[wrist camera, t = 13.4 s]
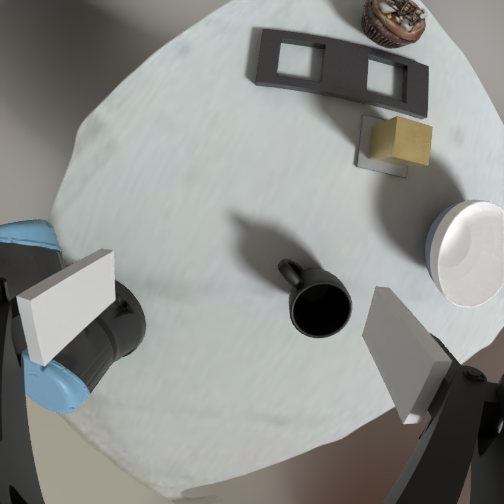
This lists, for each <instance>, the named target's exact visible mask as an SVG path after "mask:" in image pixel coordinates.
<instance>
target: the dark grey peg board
mask: <svg viewBox="0 0 504 504" xmlns="http://www.w3.org/2000/svg"><path fill="white" fill-rule="evenodd" d="M281 43H286V44H294V45H301V46H307V47H313V48H319V49H324V53H323V64H322V75H321V83H320V82H314V81H308V80H302V79H295V78H288V77H280V76H277V70H278V62H279V54H280V46H281ZM368 59H370V60H373V61H377V62H381V63H384V64H388V65H391V66H394V67H398V68H401V69H403V86H402V102H400V101H397V100H394V99H390V98H386V97H383V96H379V95H375V94H371V93H367V92H366V90H367V75H368ZM428 84H429V66H426V65H424V64H421V63H418V62H415V61H412V60H410V59H407V58H404V57H400V56H397V55H394V54H391V53H387V52H384V51H381V50H377V49H373V48H370V47H366V46H362V45H358V44H354V43H349V42H345V41H340V40H335V39H330V38H325V37H320V36H314V35H308V34H301V33H294V32H287V31H278V30H269V29H263V33H262V40H261V47H260V54H259V62H258V69H257V76H256V85H257V86H266V87H275V88H283V89H290V90H297V91H304V92H310V93H316V94H321V95H327V96H332V97H337V98H342V99H347V100H352V101H356V102H360V103H365V104H369V105H373V106H377V107H381V108H385V109H388V110H392V111H396V112H399V113H403V114H406V115H409V116H413V117H416V118H419V119H424V118H427V112H428Z"/></svg>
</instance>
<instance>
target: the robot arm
mask: <svg viewBox="0 0 504 504" xmlns="http://www.w3.org/2000/svg"><path fill="white" fill-rule="evenodd" d="M61 252H62V249H61V248H60V247H59V244H58V241H57V238H56V234H55V231H54V228H53V226H52V225H51V224H50V223H49V222H48V221H46V220H28V221H20V222H14V223H8V224H3V225H0V504H45V502H44V500H43V497H42V493H41V489H40V485H39V481H38V477H37V472H36V467H35V463H34V457H33V452H32V446H31V440H30V433H29V426H28V419H27V418H28V417H27V408H26V397H25V394H26V395H27V396H29V397H30V398H31V399H32V400H33V401H35V402H36V403H37V404H39V405H40V406H42V407H44V408H46V409H48V410H50V411H53V412H56V413H61V414H68V413H72V412H74V411H75V410H77V409H78V407H79V406H80V405H81V404H82V403H83V402H84V401H85V400H87V399H88V397H89V395H90V394H91V392H92V391H93V389H94V388H95V387H96V385H97V384H98V382H99V381H100V380H101V378H102V377H103V376H104V374H105V373H106V371H107V370H108V369H109V367H110V366H111V365H112V363H113V362H115V361H117V360H119V359H120V358H121V357H125V356H127V355H129V354H131V353H132V352H133V351H134V350H136V348H137V347H138V346H139V344H140V343H141V342H142V340H143V338H144V335H145V331H146V322H145V316H144V313H143V310H142V308H141V306H140V304H139V302H138V301H137V299H136V298H135V297H134V295H133V294H132V293H131V292H130V291H129V290H128V289H127V288H125V287H124V286H123V285H121V284H120V283H118V282H116V281H115V274H114V251H113V250H107V249H100V250H98V251H96V252H94V253H92V254H91V255H89V256H87V257H85V258H83V259H81V260H79V261H77V262H75V263H74V264H72V265H70V266H68V267H65V264H64V260H63V257H62V253H61ZM362 336H363V338H364V340H365V342H366V344H367V346H368V349H369V351H370V353H371V355H372V357H373V359H374V361H375V363H376V365H377V367H378V369H379V372H380V374H381V376H382V378H383V380H384V382H385V384H386V387H387V389H388V391H389V393H390V395H391V398H392V400H393V402H394V404H395V406H396V409H397V411H398V413H399V415H400V418H401V420H402V422H403V424H412V423H421V421H422V419H423V417H424V416H425V414H426V412H427V411H429V413H430V415H431V419H430V421H429V423H428V424H427V426H426V428H425V429H424V431H423V432H422V434H421V436H420V437H419V439H420V440H419V443H418V444H417V446H416V448H415V450H414V452H413V454H412V456H411V458H410V459H409V461H408V463H407V465H406V466H405V468H404V470H403V471H402V473H401V475H400V477H399V478H398V480H397V482H396V483H395V485H394V486H393V488H392V490H391V491H390V493H389V494H388V496H387V497H386V499H385V500H384V502H383V503H382V504H457V502H458V499H459V497H460V494H461V491H462V488H463V485H464V482H465V479H466V476H467V473H468V469H469V466H470V463H471V494H470V504H504V374H503V376H502V377H501V379H500V381H499V383H498V384H497V383H491V382H487V379H486V376H485V375H484V374H483V373H482V372H481V371H480V370H478V369H476V368H474V367H470V366H461V365H460V363H459V362H458V361H457V360H456V359H455V357H454V356H453V355H452V354H451V353H450V352H449V350H448V349H447V348H446V347H445V345H444V344H443V343H442V342H441V341H440V340H439V339H438V338H437V337H435V336H434V335H432V334H431V333H429V332H428V331H427V330H426V329H425V328H424V326H423V325H422V324H421V323H420V322H419V321H418V320H417V318H416V317H415V316H414V315H413V314H412V313H411V312H410V310H409V309H408V308H407V307H406V306H405V305H404V304H403V302H402V301H401V300H400V299H399V298H398V297H397V296H396V295H395V294H394V293H393V291H392V290H391V289H390V288H385V287H377V286H376V287H375V291H374V295H373V299H372V302H371V306H370V310H369V313H368V317H367V320H366V324H365V327H364V331H363V334H362Z"/></svg>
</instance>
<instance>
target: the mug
mask: <svg viewBox="0 0 504 504" xmlns="http://www.w3.org/2000/svg"><path fill="white" fill-rule="evenodd" d="M278 270H279V272H280V273H281V274H282V276H283V277H284V278H285V279H286V280H287V281H288V282H289V284H290V285H291V286H292V288H291V291H290V295H289V311H290V318H291V321H292V323H293V325H294V326H295V328H296V329H297V330H298V331H299V332H301V333H302V334H304V335H306V336H308V337H312V338H325V337H329V336H332V335H334V334H336V333H337V332H339V331H340V330H341V329H343V328H344V327H345V325H346V324H347V323H348V321H349V319H350V317H351V313H352V300H351V297H350V295H349V293H348V292H347V290H346V288H345V286H344V285H343V283H342V282H341V281H340V280H339V279H338V278H337V277H336V276H334V275H333V274H331V273H330V272H328V271H325V270H322V269H319V268H309V269H306V270H303V269H302V267H301V266H299V265H298V264H297V263H295V262H293V261H291V260H289V259H283V260H282V261H280V262H279V264H278Z"/></svg>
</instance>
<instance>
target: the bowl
mask: <svg viewBox="0 0 504 504" xmlns="http://www.w3.org/2000/svg"><path fill="white" fill-rule="evenodd" d="M425 257H426V265H427V269H428V272H429V275H430V277H431V278H432V280H433V281H434V283H435V285H436V286H437V288H438V290H439V291H440V292H441V293H442V294H443V295H444V296H445V297H446V298H447V299H448V300H449V301H450V302H451V303H453V304H455V305H457V306H459V307H464V308H472V307H476V306H479V305H481V304H483V303H485V302H487V301H488V300H490V299H491V298H492V297H493V296H494V295H495V294H496V293H497V292H498V291H499V290H500V288H501V287H502V285H503V284H504V211H503V210H502V209H501V208H500V207H499V206H498V205H496V204H494V203H492V202H488V201H482V200H467V201H461V202H457V203H454V204H452V205H450V206H449V207H447V208H446V209H445V210H444V211H443V212H442V213H441V214H440V215H439V216H438V217H437V218H436V219H435V220H434V222H433V223H432V225H431V227H430V229H429V231H428V235H427V238H426V245H425Z"/></svg>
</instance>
